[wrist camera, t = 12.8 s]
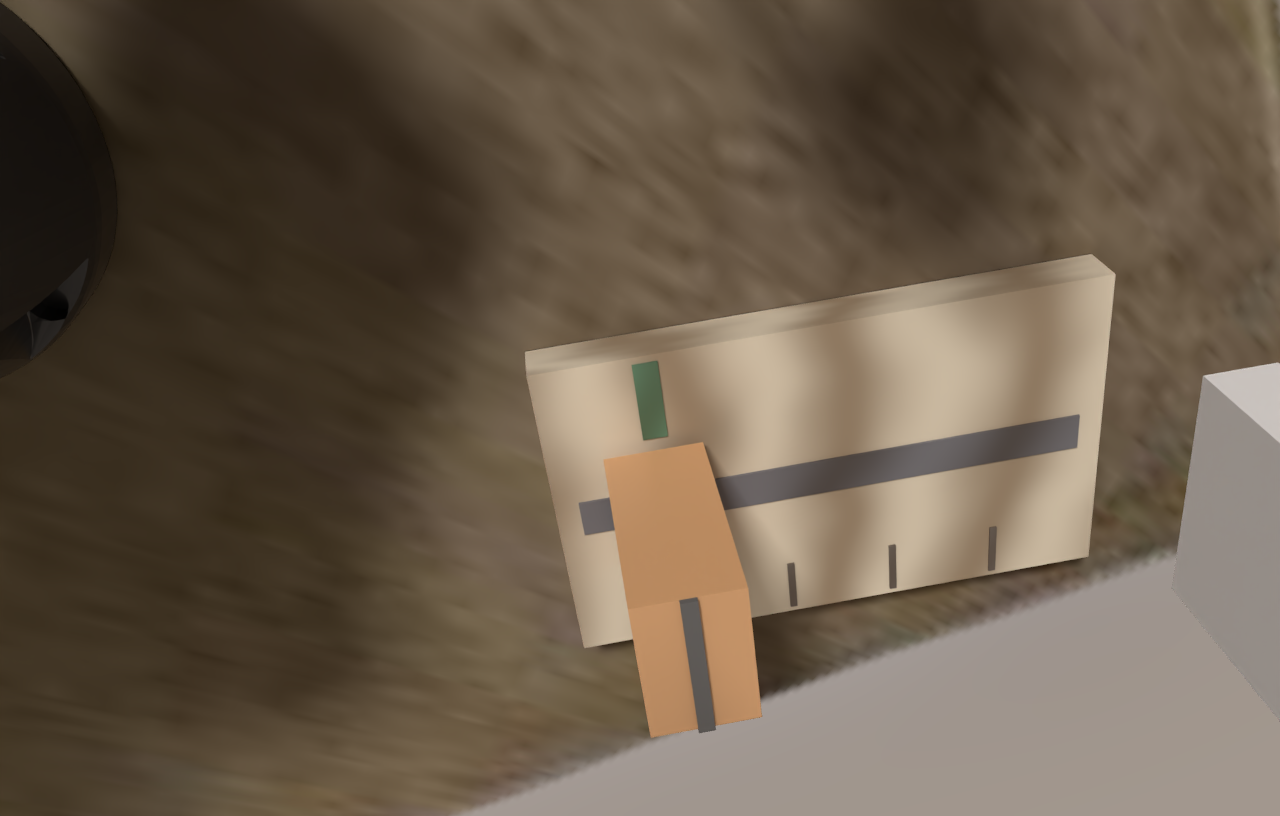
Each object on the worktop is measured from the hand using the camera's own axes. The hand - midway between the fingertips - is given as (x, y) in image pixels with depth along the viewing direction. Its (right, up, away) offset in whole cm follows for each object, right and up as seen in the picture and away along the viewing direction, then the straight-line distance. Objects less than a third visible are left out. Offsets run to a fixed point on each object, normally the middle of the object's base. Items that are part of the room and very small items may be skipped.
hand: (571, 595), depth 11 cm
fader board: (+8, 0, +37) cm, 38 cm away
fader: (+2, -2, +35) cm, 35 cm away
